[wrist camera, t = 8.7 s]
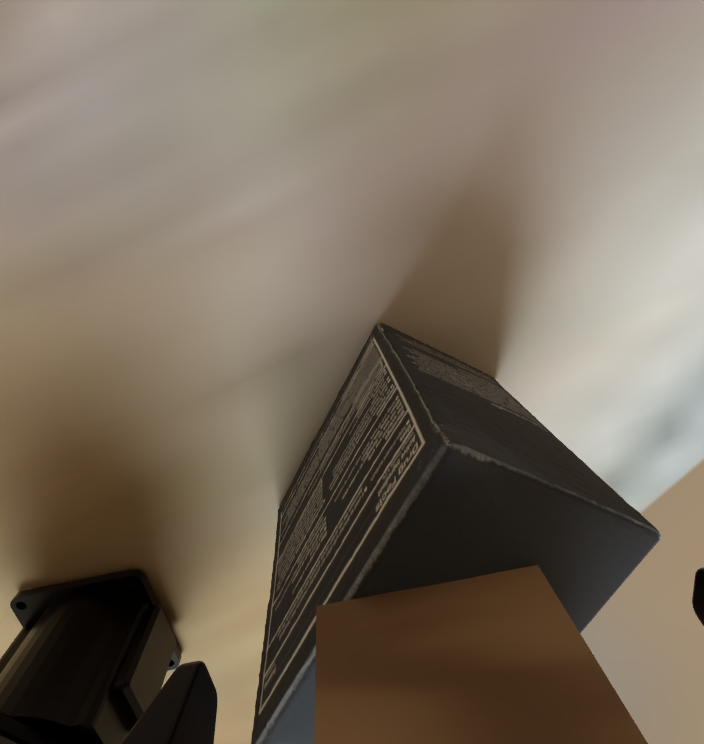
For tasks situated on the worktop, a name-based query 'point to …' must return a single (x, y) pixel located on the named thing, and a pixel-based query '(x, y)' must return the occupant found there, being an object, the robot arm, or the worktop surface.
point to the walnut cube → (462, 668)
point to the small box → (429, 510)
